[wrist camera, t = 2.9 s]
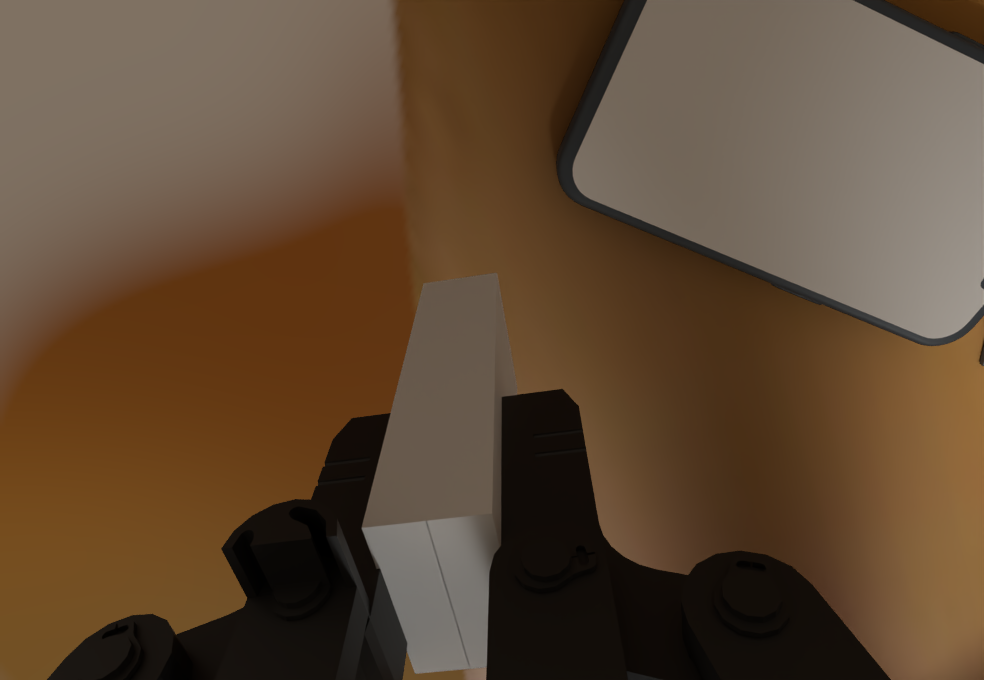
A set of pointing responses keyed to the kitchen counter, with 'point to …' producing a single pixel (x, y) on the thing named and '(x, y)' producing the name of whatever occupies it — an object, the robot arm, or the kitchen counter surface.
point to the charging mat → (982, 358)
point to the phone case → (797, 150)
